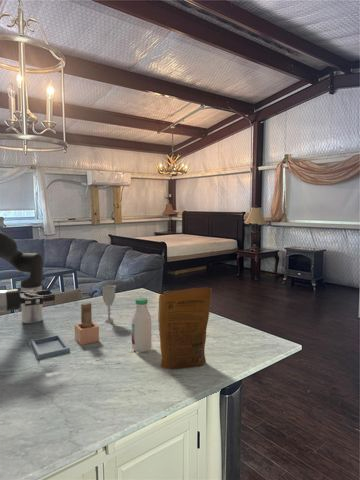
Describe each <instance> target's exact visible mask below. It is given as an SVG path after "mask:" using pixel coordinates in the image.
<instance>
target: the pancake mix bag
mask: <svg viewBox="0 0 360 480" xmlns="http://www.w3.org/2000/svg"><path fill="white" fill-rule="evenodd" d="M212 290H213V288H210V287H193V288H192V287H191V288H186V289H179V290H176V289H175V290H166V291H162V294H159V295H158V321H157V322H158V333H159V343H160V344H159V345H160V356H161V361H160V367H162V368H164V369H167V370H179V369H186V368H199V367H202V366H204V365H205V364H206V362H207V361H206V354H205V348H206V347H205V346H206V342H207V327H208V322H209V317H210V309H211V304H212V303H211V302H212Z"/></svg>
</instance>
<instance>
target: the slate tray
mask: <svg viewBox="0 0 360 480" xmlns="http://www.w3.org/2000/svg"><path fill="white" fill-rule="evenodd" d="M30 347H31V349H32V351H33V353H34V355H35V356H36V358H37V361H38V362H40V359H44V358H49V357H54V356H58V355H61V354H66V353H70V352H71V347H70V346H69V345H68V344H67V342H66V341H65V340H64V338H63V337H62V335H60V334H55V335H49V336H44V337H40V338H34V339H30Z"/></svg>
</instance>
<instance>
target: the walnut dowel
mask: <svg viewBox="0 0 360 480" xmlns="http://www.w3.org/2000/svg"><path fill="white" fill-rule="evenodd" d="M80 309H81V310H80V313H81V314H80V317H81V318H80V319H81V322H80V323H81V325H82V329H84V328H89V327H92V318H93V317H92V303H91V302H83V303H81V304H80Z"/></svg>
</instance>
